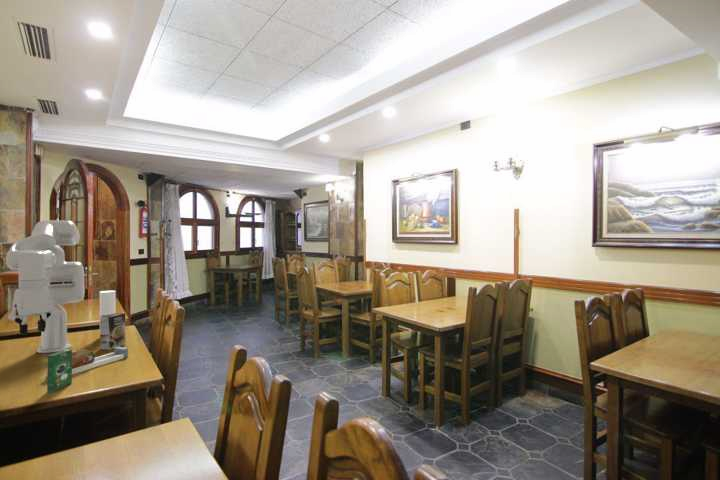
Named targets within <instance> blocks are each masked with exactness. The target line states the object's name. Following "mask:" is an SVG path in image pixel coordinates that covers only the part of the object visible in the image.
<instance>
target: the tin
mask: <svg viewBox="0 0 720 480" xmlns="http://www.w3.org/2000/svg"><path fill="white" fill-rule="evenodd" d="M95 358H96V357H95V353H94V352H93V351H92V350H90V349H87V348H86V349H85V348H82V349H81V348H80V349H76V350H72V369H74V368H77V367H80V366H84V365H87V364H90V363H93V362H94V359H95Z"/></svg>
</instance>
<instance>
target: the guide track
mask: <svg viewBox="0 0 720 480" xmlns="http://www.w3.org/2000/svg"><path fill="white" fill-rule="evenodd" d="M125 358H129V348H127V347H123V346H120V347H115V348H114V349H113V352H109V353H106V354H103V355H100V356H97V357H95V359H94V362H93V363H90V364H87V365H84V366H80V367H77V368H74V369H72V375H76V374H79V373H82V372H85V371H87V370H91V369H93V368H97V367H101V366H104V365H106V364H110V363H114V362H116V361H119V360H123V359H125Z"/></svg>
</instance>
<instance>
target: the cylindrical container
mask: <svg viewBox="0 0 720 480" xmlns="http://www.w3.org/2000/svg"><path fill="white" fill-rule="evenodd" d="M116 304H117V303H116V290H101V291H99V318H100V317H101V316H105V315H110V314H114V313H117V312H116V309H117V308H116Z"/></svg>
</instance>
